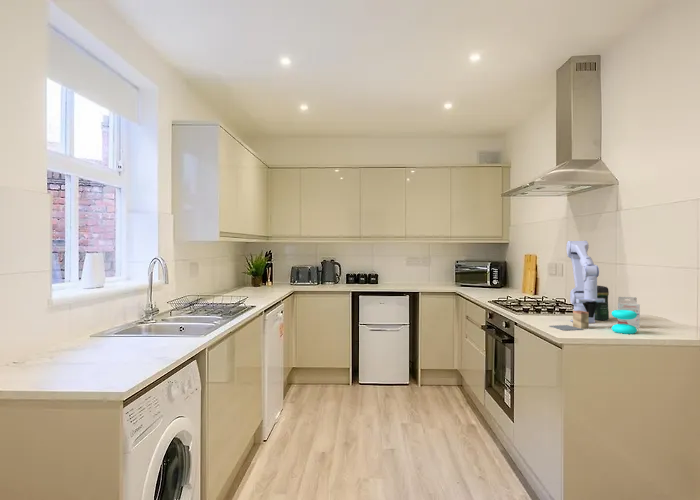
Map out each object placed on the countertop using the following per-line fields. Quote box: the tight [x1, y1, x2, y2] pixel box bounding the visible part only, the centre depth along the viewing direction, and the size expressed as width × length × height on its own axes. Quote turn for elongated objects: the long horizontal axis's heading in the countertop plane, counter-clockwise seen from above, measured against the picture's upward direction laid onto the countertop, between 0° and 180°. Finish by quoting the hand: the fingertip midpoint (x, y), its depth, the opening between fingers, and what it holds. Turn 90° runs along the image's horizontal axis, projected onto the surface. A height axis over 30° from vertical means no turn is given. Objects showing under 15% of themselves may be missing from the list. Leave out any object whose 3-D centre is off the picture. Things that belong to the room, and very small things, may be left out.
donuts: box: [611, 309, 638, 335], centre depth 203 cm, size 10×10×10 cm
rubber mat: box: [549, 324, 584, 331], centre depth 215 cm, size 10×12×1 cm
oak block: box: [572, 310, 590, 329], centre depth 216 cm, size 4×6×8 cm, turn 9°
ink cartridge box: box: [617, 296, 641, 329], centre depth 217 cm, size 9×5×15 cm, turn 71°
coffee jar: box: [595, 285, 610, 321], centre depth 241 cm, size 10×8×19 cm
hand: (590, 317), depth 217 cm, fingers closed
